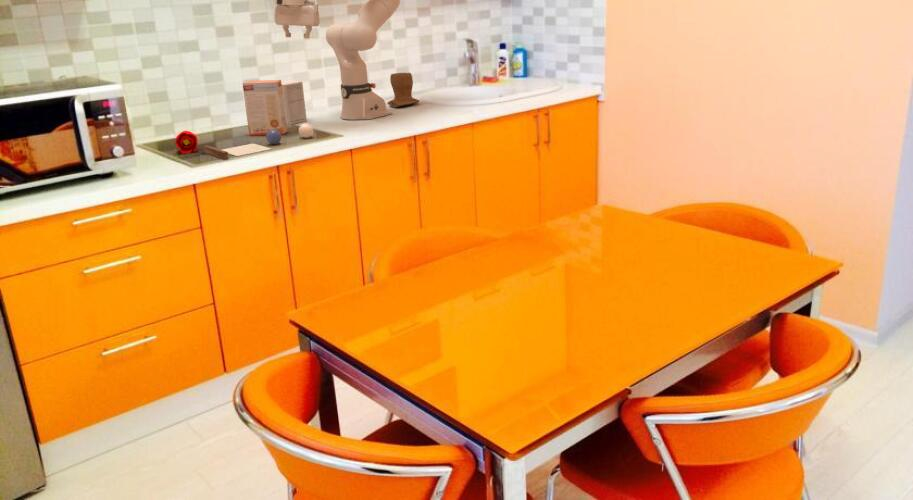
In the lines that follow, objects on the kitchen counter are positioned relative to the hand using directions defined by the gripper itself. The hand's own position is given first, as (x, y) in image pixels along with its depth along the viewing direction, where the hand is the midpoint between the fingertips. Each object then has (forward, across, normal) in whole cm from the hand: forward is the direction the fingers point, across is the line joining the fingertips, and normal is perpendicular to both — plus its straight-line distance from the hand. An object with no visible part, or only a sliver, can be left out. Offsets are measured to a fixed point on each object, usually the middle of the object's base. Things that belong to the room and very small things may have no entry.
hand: (297, 37), depth 319 cm
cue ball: (+34, -13, +11) cm, 38 cm away
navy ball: (+36, -9, +24) cm, 44 cm away
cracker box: (+38, +7, +10) cm, 39 cm away
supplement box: (+35, +14, -12) cm, 40 cm away
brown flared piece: (+30, -10, -60) cm, 67 cm away
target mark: (+40, -5, +35) cm, 53 cm away
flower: (+41, +15, +44) cm, 62 cm away
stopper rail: (+41, -2, +46) cm, 62 cm away
